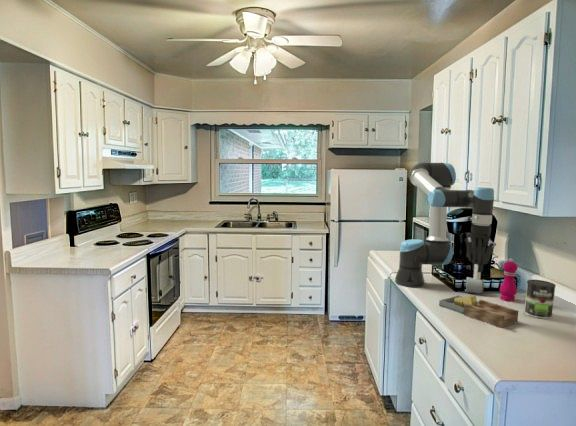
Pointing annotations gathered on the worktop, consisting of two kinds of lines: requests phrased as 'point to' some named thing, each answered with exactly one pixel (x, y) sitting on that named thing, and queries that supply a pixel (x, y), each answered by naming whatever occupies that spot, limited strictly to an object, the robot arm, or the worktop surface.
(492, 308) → the channel bar
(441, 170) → the robot arm
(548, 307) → the coffee can
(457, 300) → the tan cube
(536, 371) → the worktop surface
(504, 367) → the worktop surface
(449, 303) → the tray
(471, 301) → the yellow cube
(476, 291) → the ceramic mug
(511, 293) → the pepper mill
